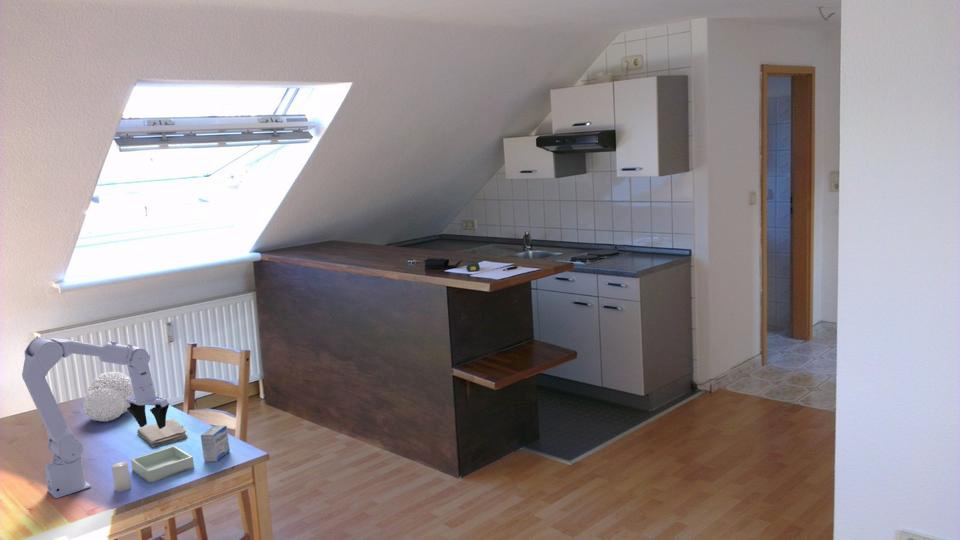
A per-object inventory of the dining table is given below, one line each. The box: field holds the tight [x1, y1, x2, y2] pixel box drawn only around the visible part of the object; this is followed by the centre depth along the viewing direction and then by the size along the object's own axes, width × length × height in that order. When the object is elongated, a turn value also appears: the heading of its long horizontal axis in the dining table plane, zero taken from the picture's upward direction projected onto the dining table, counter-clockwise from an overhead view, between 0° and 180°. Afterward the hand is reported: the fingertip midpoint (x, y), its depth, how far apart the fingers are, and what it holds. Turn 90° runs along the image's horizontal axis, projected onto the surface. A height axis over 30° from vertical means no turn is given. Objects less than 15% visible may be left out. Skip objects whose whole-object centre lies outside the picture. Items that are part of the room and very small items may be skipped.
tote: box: [130, 445, 195, 484], centre depth 236 cm, size 13×13×4 cm
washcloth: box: [136, 418, 188, 448], centre depth 264 cm, size 12×18×3 cm, turn 40°
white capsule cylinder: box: [111, 461, 132, 493], centre depth 224 cm, size 4×4×7 cm
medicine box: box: [200, 424, 231, 463], centre depth 242 cm, size 8×4×9 cm, turn 168°
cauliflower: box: [82, 371, 135, 423], centre depth 285 cm, size 20×18×16 cm
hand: (152, 426), depth 242 cm, fingers open, 7 cm apart
